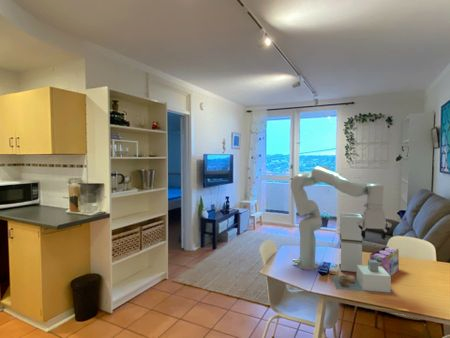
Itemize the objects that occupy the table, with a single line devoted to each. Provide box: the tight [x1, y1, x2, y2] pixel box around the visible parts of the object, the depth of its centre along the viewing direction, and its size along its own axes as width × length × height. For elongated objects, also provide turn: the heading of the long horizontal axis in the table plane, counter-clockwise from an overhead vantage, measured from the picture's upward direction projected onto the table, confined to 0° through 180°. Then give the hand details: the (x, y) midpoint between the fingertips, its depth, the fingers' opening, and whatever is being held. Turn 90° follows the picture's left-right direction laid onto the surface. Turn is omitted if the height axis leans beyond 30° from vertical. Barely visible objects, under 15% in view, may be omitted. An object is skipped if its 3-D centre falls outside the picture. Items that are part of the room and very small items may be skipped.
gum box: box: [369, 245, 400, 276], centre depth 167 cm, size 24×8×14 cm, turn 128°
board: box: [331, 275, 395, 295], centre depth 150 cm, size 28×16×1 cm, turn 79°
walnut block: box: [339, 275, 349, 287], centre depth 150 cm, size 4×4×4 cm
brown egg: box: [346, 274, 356, 283], centre depth 154 cm, size 4×4×3 cm
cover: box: [355, 259, 392, 292], centre depth 149 cm, size 13×13×13 cm
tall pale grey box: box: [338, 212, 364, 275], centre depth 169 cm, size 11×11×35 cm
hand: (373, 238), depth 148 cm, fingers open, 9 cm apart
